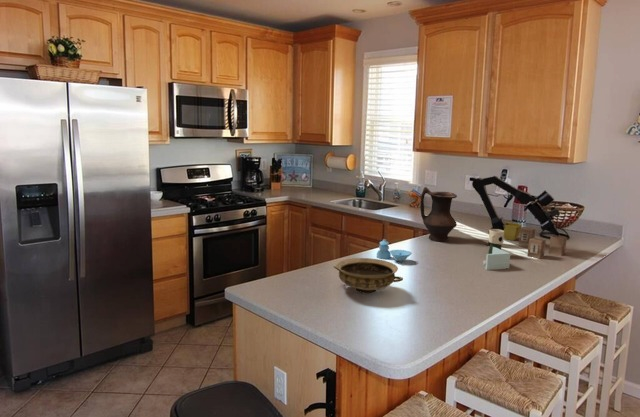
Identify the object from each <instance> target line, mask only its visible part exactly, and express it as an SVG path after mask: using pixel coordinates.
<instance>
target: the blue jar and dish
mask: <svg viewBox="0 0 640 417" xmlns="http://www.w3.org/2000/svg"><path fill="white" fill-rule="evenodd" d="M389 243H390V242H389V241H387V239H385V238H383V239H382V241H379V246H378V248H379V250H377V252H376V259H379V260H390V259H391V256H392V257H393V258H394V259H395V261H396V262H398V263H403V262H404V261H405V260H406V259H408V258H409V257H410V256H411V255H412V252H411V251H410V250H405V249H392V250H389V249H390V247H389V245H390V244H389Z"/></svg>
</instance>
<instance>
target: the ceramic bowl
mask: <svg viewBox="0 0 640 417" xmlns="http://www.w3.org/2000/svg"><path fill="white" fill-rule="evenodd" d="M333 268H334V269H335V270H336V271H338V277H339V279H340V281H341V282H343V283H344V284H345V285H346V286H349V287H350V288H351V287H352V288H353V289H355V291H356V292H357V293H361V294H365V295H366V294H374V293H376V292H377V290H382V289H385V288H387V287H389V286H390V285H392V284H393V283H398V282H402V281H403V280H404V277H403V276H402V277H401V276H396V275H395V273H396V272H397V271H399V268H398V265H396V264H394V263H392V262H390V261H386V260H385V259H379V258H372V257H371V258H368V257H367V258H365V257H351V258H346V259H343V260H340V261H338V262H337V263H336V264H333Z"/></svg>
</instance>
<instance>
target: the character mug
mask: <svg viewBox="0 0 640 417" xmlns="http://www.w3.org/2000/svg"><path fill="white" fill-rule="evenodd" d="M488 232H489V233H488V240H489V242H490V243H491V244H490V246H488V247H489V248H488V252H487V254H492V250H493V247H495V248H498V249H500V250H502V245H503V244H504V240H505V238H504V231H503V230H499V229H491V228H489V230H488ZM501 244H502V245H501Z"/></svg>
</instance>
